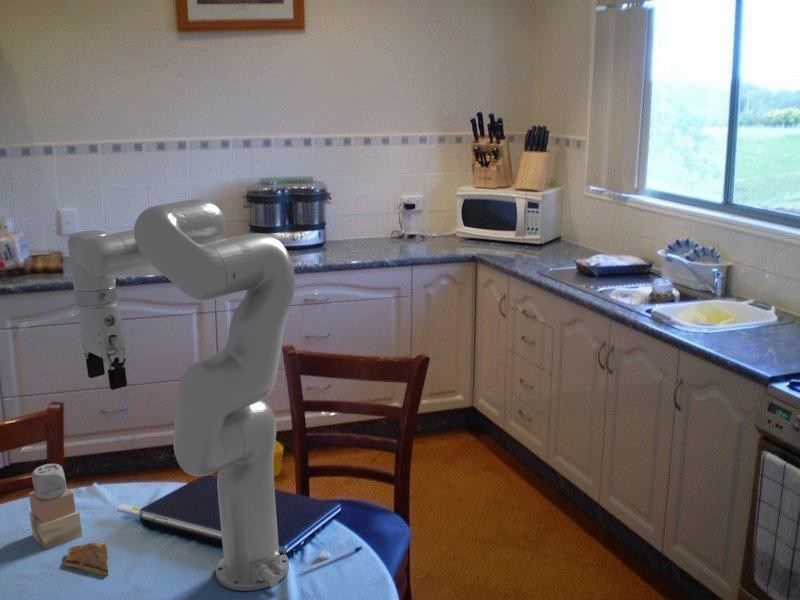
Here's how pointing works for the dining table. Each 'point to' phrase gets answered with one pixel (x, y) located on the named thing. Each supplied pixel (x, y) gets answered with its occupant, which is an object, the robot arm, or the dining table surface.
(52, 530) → the tower base
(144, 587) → the dining table surface
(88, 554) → the shard
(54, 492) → the die
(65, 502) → the tower top
